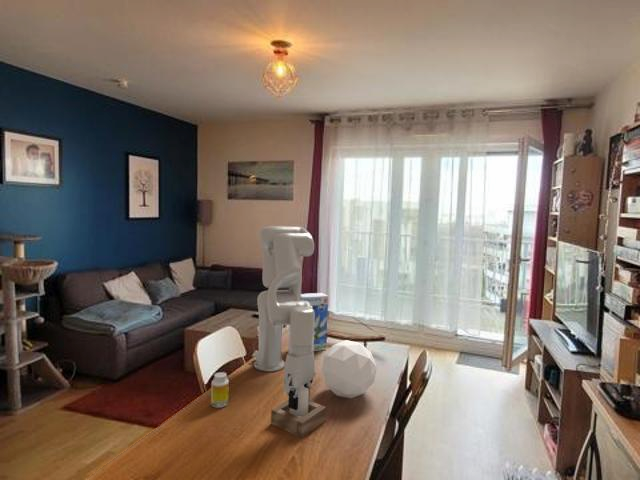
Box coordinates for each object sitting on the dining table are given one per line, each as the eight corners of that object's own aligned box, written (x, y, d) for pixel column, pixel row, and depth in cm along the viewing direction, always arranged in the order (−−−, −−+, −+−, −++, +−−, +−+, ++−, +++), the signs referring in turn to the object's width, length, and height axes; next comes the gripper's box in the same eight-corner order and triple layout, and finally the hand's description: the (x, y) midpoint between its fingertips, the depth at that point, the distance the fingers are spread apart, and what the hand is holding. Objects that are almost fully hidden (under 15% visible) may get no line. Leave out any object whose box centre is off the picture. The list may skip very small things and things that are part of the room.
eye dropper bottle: (293, 408, 127) (295, 371, 125) (309, 412, 124) (311, 375, 123) (287, 414, 122) (288, 376, 121) (304, 419, 120) (305, 380, 119)
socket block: (270, 423, 122) (271, 409, 122) (295, 408, 132) (296, 395, 131) (301, 438, 115) (302, 423, 115) (325, 420, 125) (326, 407, 125)
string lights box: (300, 353, 181) (302, 297, 178) (294, 347, 187) (296, 293, 185) (326, 349, 186) (328, 295, 184) (319, 344, 193) (322, 292, 191)
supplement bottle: (230, 406, 131) (230, 376, 130) (213, 409, 129) (213, 379, 128) (226, 398, 136) (226, 370, 135) (209, 401, 134) (210, 372, 133)
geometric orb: (358, 417, 141) (376, 389, 128) (307, 391, 144) (319, 361, 131) (373, 374, 155) (390, 345, 142) (326, 351, 158) (339, 321, 145)
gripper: (308, 337, 131) (306, 391, 132) (273, 352, 117) (271, 411, 118) (327, 343, 126) (324, 398, 128) (293, 359, 112) (290, 420, 114)
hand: (298, 404), depth 123 cm, fingers closed on eye dropper bottle, 5 cm apart
